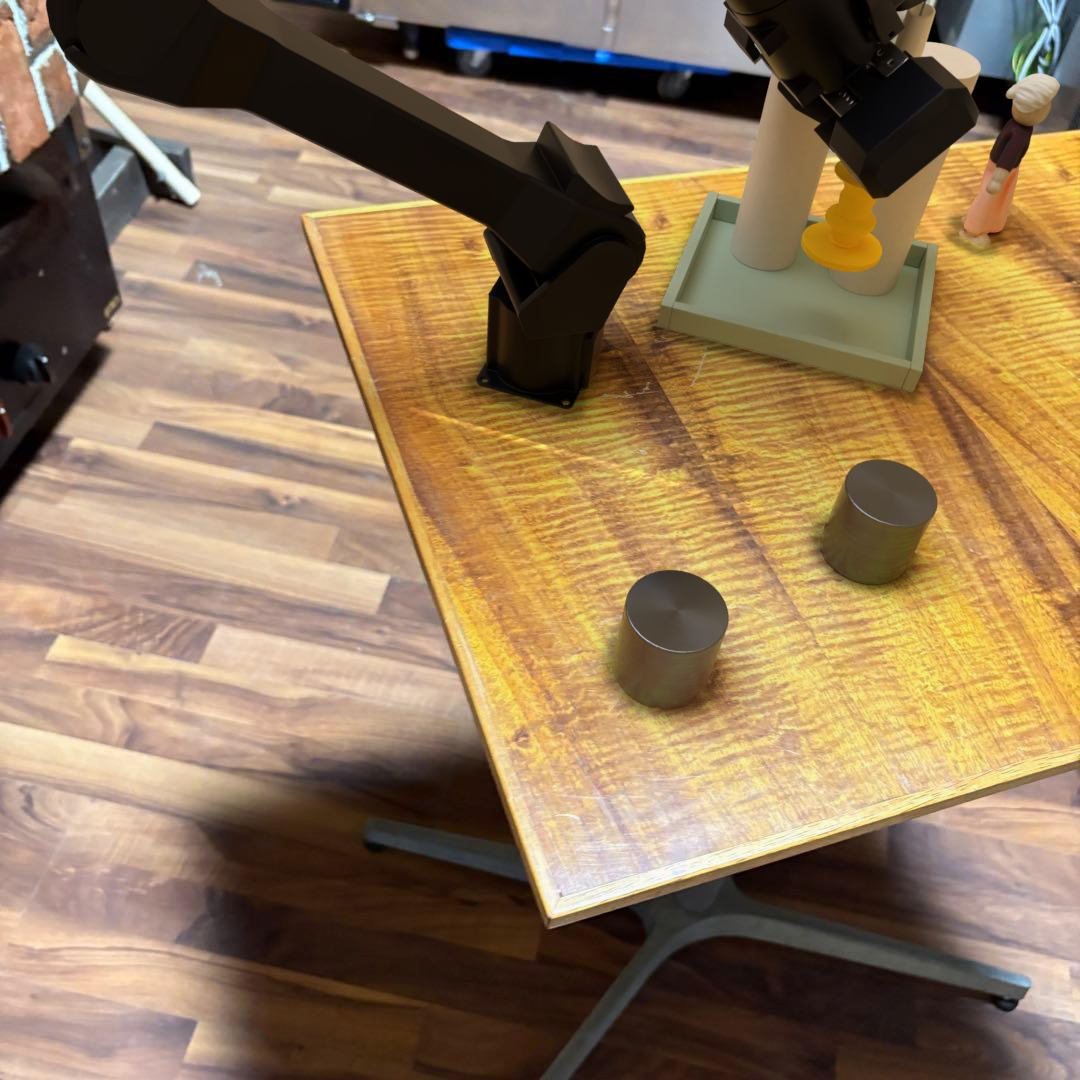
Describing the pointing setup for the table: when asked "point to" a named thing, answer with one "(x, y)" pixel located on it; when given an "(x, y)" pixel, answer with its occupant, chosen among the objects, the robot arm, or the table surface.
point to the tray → (799, 306)
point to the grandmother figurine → (1008, 157)
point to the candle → (860, 187)
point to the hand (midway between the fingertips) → (895, 155)
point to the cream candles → (792, 179)
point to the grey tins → (701, 613)
